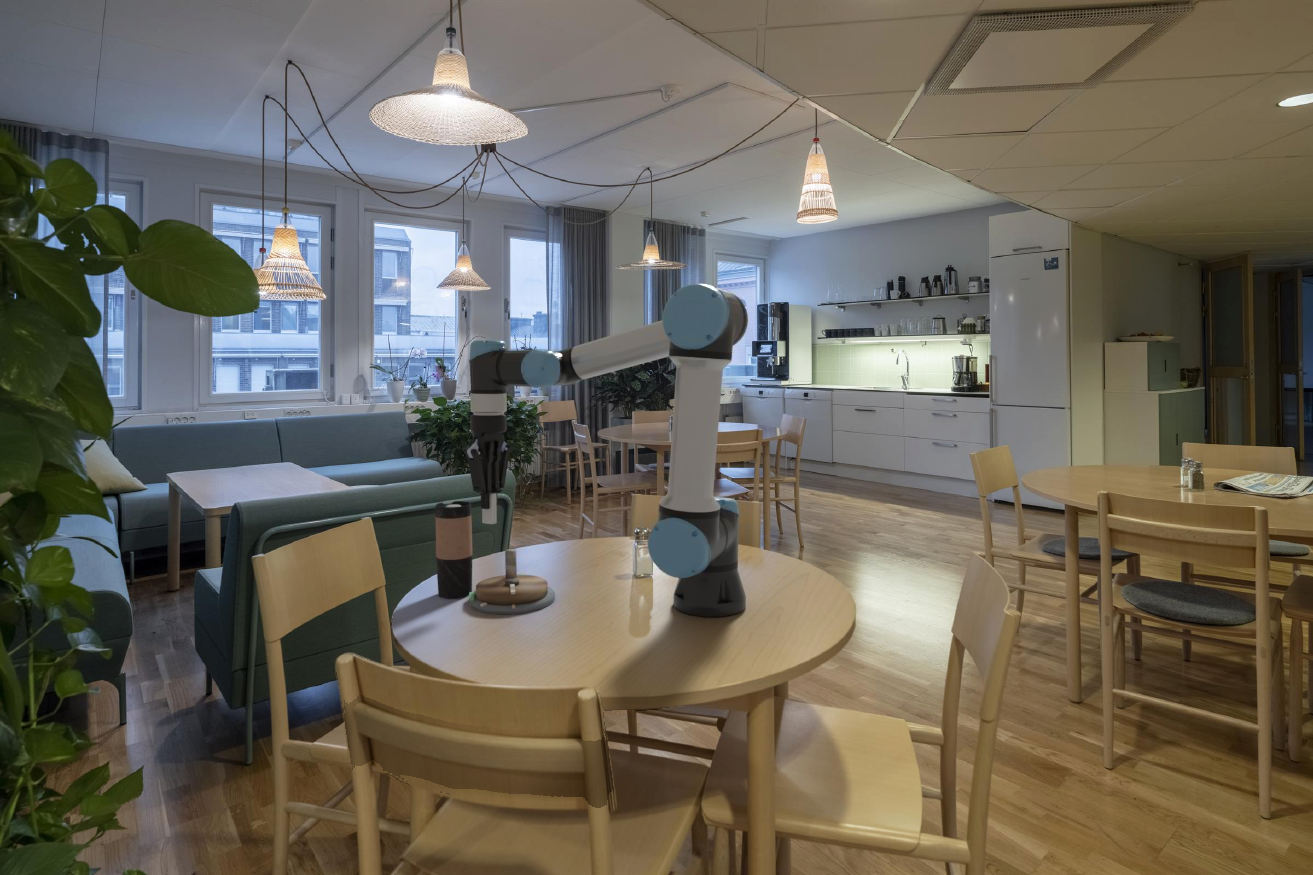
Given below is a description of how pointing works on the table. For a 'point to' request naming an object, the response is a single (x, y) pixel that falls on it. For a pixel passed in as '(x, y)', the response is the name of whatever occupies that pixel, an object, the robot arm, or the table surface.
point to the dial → (511, 585)
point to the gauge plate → (511, 609)
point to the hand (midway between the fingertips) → (489, 522)
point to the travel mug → (454, 549)
